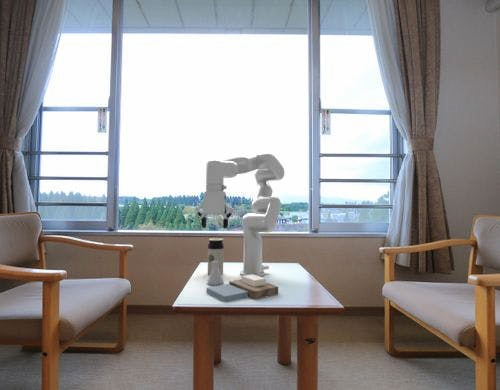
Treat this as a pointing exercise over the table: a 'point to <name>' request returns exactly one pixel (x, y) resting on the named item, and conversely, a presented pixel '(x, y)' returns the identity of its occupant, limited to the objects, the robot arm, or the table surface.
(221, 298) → the mat
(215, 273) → the flask
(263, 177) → the robot arm
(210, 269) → the travel mug
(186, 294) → the table surface
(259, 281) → the tile
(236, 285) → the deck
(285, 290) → the table surface
